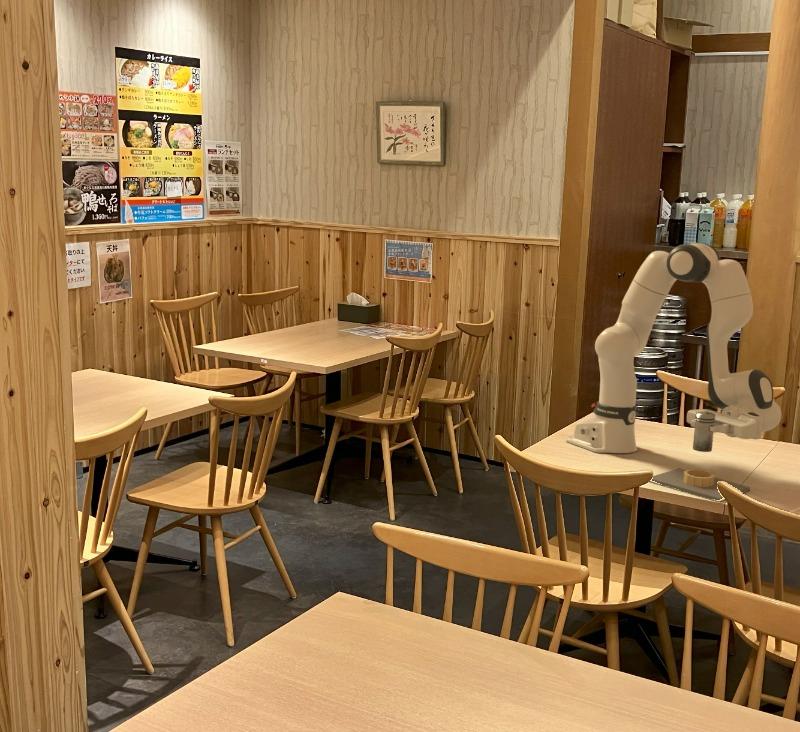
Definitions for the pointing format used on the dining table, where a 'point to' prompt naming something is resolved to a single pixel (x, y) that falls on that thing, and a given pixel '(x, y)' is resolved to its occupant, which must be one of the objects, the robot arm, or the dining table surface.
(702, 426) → the piston
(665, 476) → the collar plate
